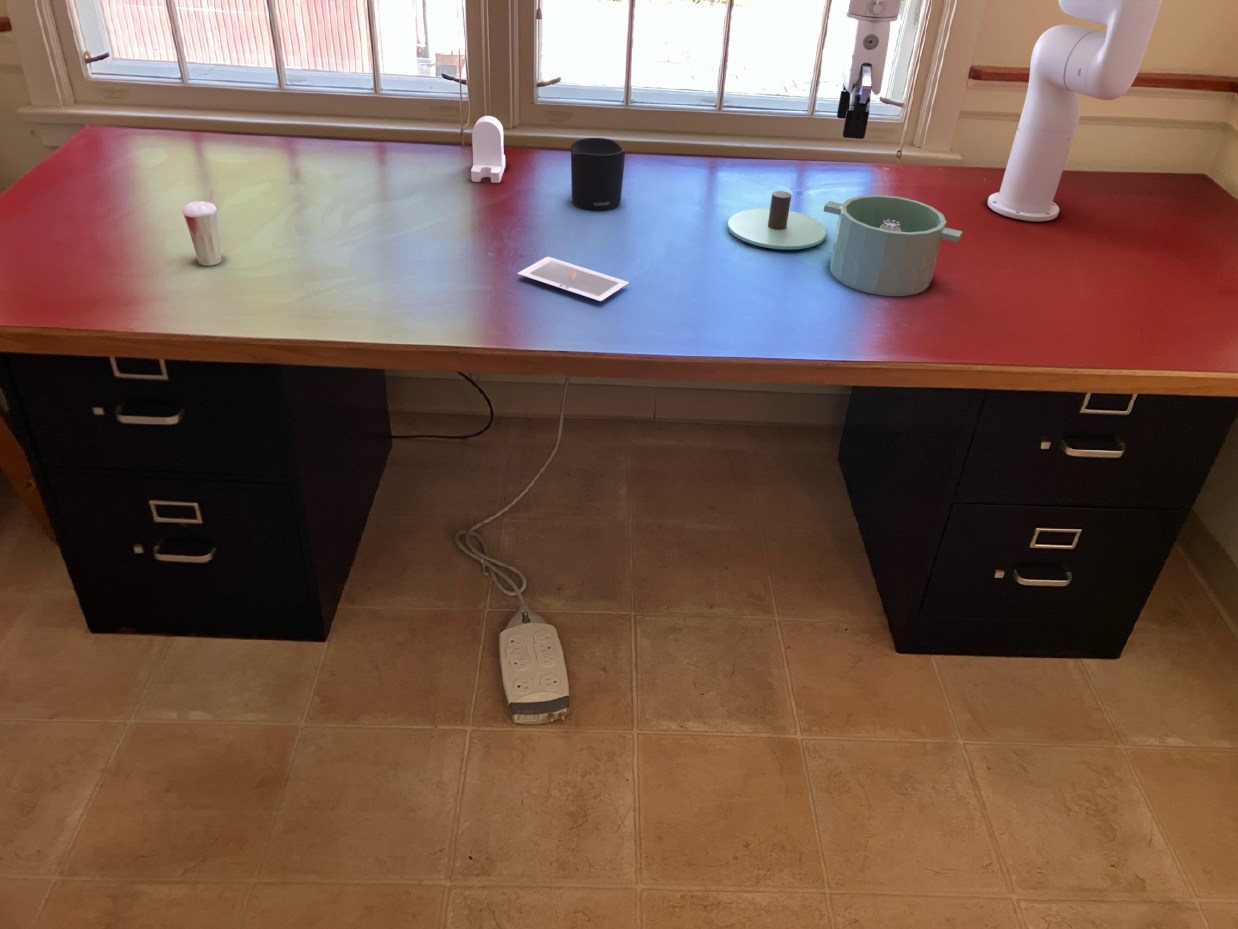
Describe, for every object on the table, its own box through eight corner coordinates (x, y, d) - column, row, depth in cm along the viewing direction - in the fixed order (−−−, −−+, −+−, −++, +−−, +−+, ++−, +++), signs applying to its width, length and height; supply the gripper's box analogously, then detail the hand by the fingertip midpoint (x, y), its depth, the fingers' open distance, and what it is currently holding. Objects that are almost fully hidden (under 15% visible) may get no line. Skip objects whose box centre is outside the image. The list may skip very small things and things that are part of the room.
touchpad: (547, 262, 151) (547, 249, 150) (629, 289, 145) (629, 275, 144) (516, 280, 145) (516, 266, 144) (600, 308, 139) (601, 294, 138)
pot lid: (750, 207, 174) (754, 170, 170) (838, 228, 168) (845, 190, 164) (711, 237, 162) (715, 198, 158) (805, 261, 156) (811, 221, 152)
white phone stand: (505, 164, 186) (504, 111, 180) (499, 182, 178) (498, 127, 172) (478, 163, 186) (476, 110, 180) (471, 181, 178) (468, 126, 172)
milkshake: (236, 256, 147) (223, 192, 142) (213, 269, 143) (199, 204, 137) (211, 251, 149) (197, 187, 143) (187, 264, 144) (172, 199, 139)
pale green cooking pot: (832, 242, 163) (843, 184, 157) (957, 273, 155) (973, 213, 149) (800, 275, 152) (810, 213, 146) (933, 310, 144) (949, 246, 138)
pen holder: (561, 206, 170) (561, 149, 165) (582, 189, 178) (584, 134, 172) (610, 216, 168) (613, 158, 162) (630, 198, 175) (633, 143, 169)
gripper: (908, 19, 130) (881, 147, 140) (891, -5, 144) (868, 113, 154) (851, 15, 130) (829, 143, 140) (840, -8, 144) (821, 109, 154)
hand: (849, 127), depth 147 cm, fingers open, 9 cm apart
